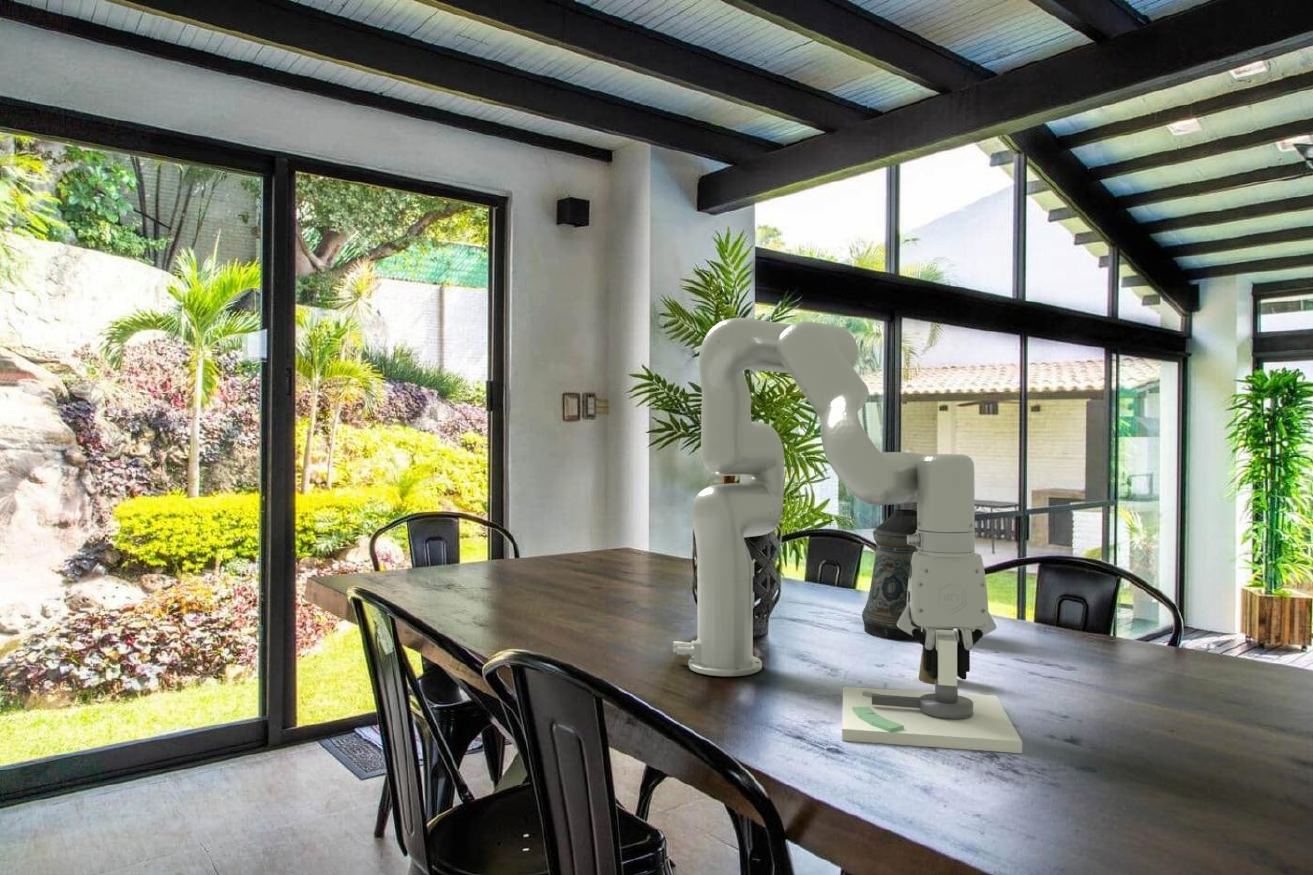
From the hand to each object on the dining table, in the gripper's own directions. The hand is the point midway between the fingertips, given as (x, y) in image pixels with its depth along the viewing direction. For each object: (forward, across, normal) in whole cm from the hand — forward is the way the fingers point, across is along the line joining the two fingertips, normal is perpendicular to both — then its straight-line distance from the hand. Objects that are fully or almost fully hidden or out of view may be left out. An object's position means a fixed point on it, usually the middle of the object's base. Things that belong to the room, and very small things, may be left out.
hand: (946, 675), depth 121 cm
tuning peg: (+5, -3, +1) cm, 6 cm away
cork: (+7, +5, +23) cm, 24 cm away
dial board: (+7, -3, +1) cm, 7 cm away
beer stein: (+7, +9, +58) cm, 59 cm away
